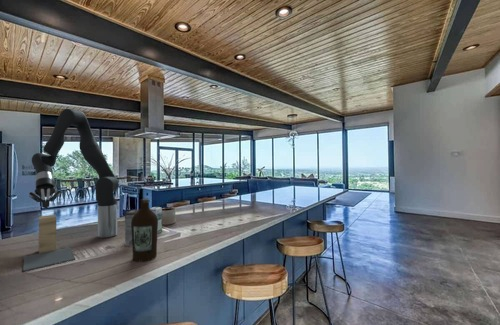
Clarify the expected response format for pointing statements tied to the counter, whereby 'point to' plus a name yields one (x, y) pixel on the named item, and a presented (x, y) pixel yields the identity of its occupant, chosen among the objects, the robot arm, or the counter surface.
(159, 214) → the syrup box
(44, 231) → the oak block
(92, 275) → the counter surface
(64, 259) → the rubber mat
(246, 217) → the counter surface
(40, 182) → the robot arm
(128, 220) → the coffee box
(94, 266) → the counter surface
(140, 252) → the olive oil
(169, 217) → the planter
